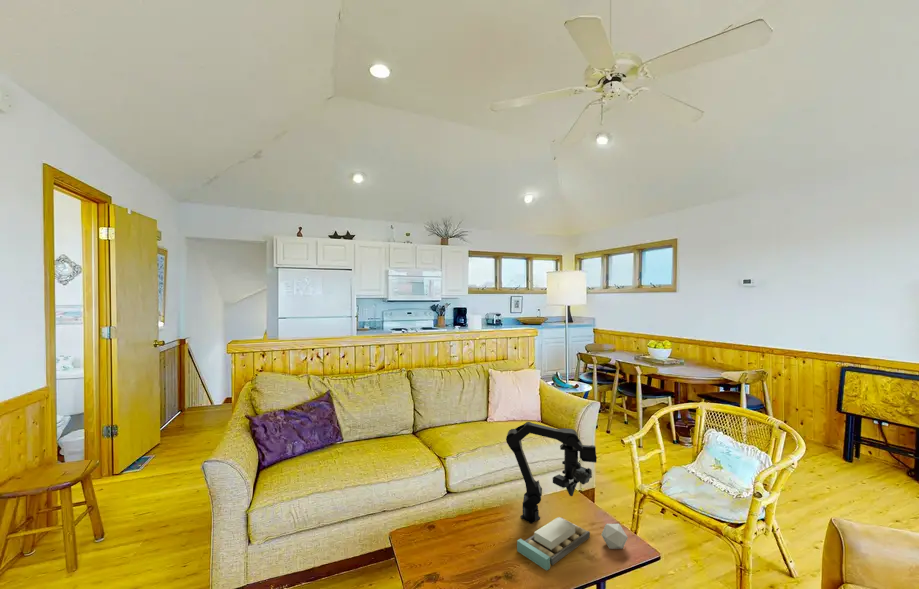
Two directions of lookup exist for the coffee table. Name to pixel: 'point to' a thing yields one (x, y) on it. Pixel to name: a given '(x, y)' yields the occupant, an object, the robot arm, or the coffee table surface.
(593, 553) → the coffee table surface
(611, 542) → the die
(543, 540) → the slab
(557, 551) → the roller bed
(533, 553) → the stop bar
